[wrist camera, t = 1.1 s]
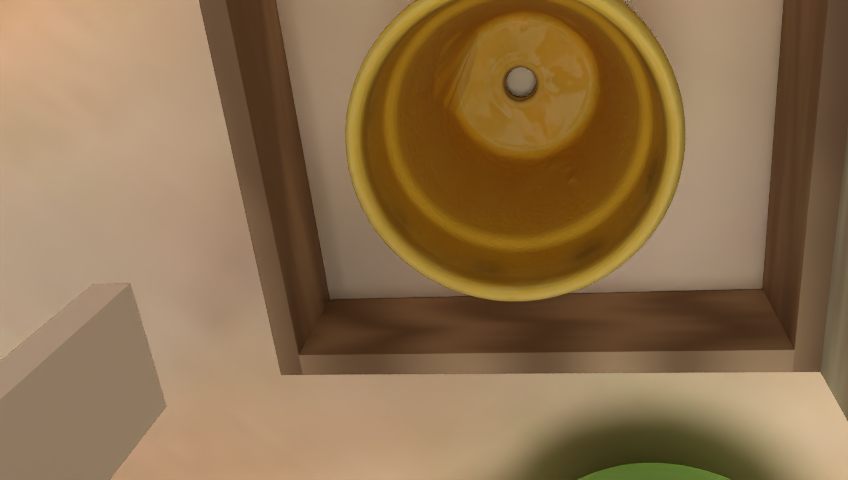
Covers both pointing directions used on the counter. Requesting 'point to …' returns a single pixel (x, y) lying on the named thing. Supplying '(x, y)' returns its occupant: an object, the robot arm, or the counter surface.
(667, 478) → the toy bird
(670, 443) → the counter surface
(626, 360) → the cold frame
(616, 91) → the plant pot
